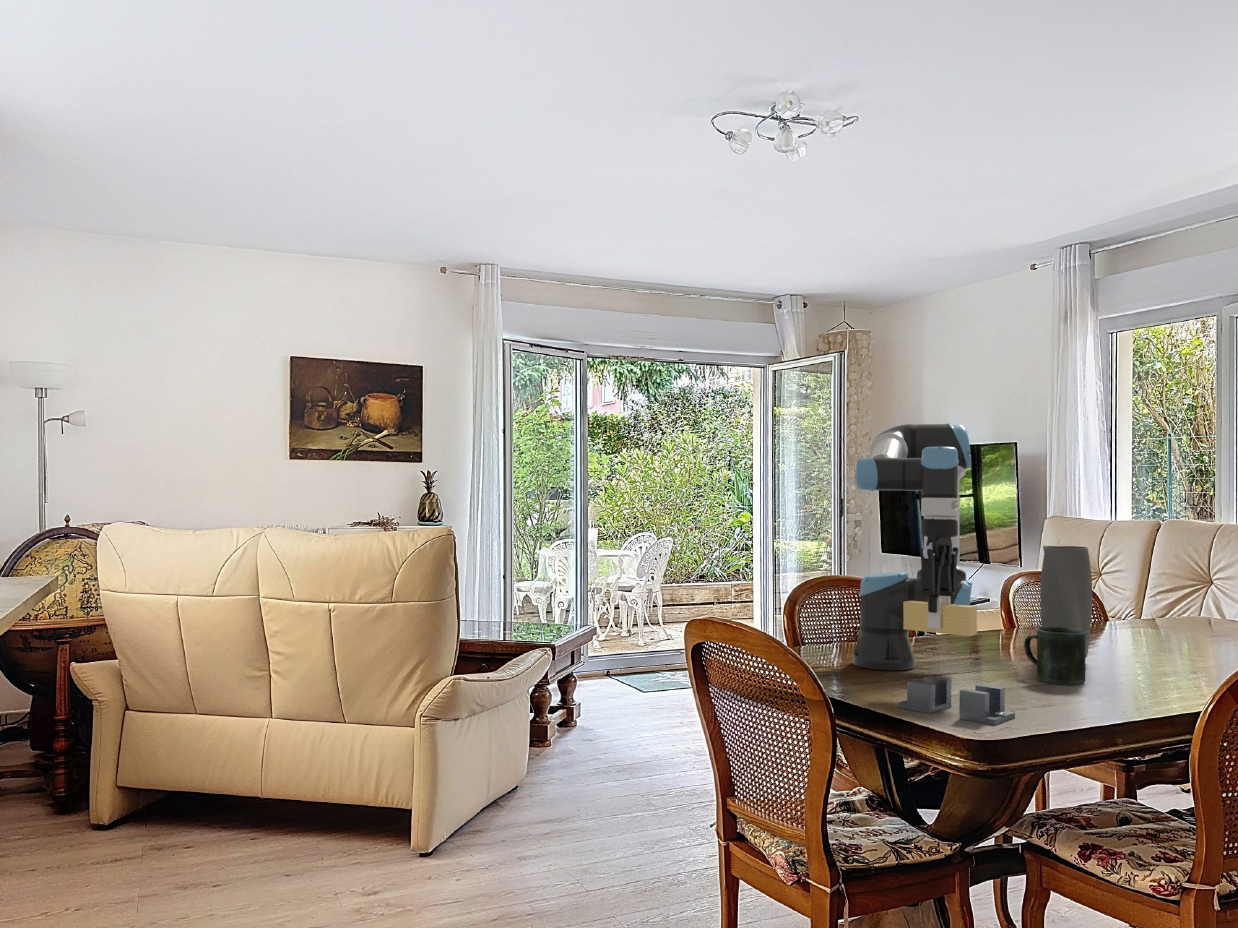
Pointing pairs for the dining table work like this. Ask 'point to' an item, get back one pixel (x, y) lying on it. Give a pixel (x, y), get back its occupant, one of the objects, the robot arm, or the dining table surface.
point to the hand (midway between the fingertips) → (939, 626)
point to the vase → (1066, 589)
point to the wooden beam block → (952, 618)
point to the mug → (1059, 655)
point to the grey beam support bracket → (984, 705)
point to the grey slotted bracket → (928, 695)
